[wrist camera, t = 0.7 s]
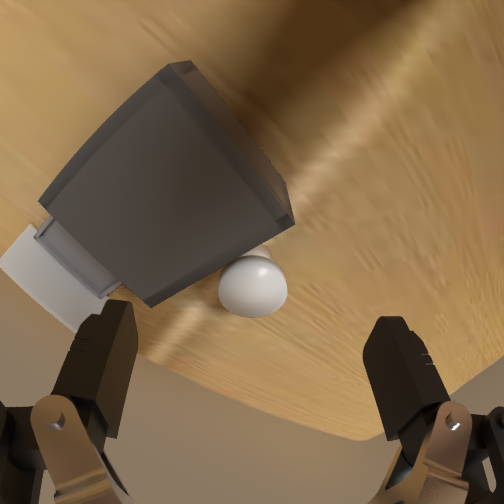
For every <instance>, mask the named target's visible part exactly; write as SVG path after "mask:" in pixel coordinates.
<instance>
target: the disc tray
mask: <svg viewBox="0 0 504 504" xmlns="http://www.w3.org/2000/svg"><path fill="white" fill-rule="evenodd" d="M0 268H2V269H3V271H4V272H5V273H6V274H7V275H8V276H9V277H10V278H11V279H12V280H14V281H15V282H16V283H17V284H18V285H19V286H20V287H21V288H22V289H23V290H24V291H25V292H26V293H27V294H28V295H30V296H31V297H32V298H33V299H34V300H35V301H36V302H37V303H39V304H40V305H41V306H42V307H43V308H44V309H46V310H47V311H48V312H49V313H50V314H51V315H53V316H54V317H55V318H56V319H57V320H59V321H60V322H61V323H62V324H64V325H65V326H66V327H67V328H69V329H70V330H71V331H72V332H74V333H75V334H76V333H77V331H78V329H79V326H80V324H81V323H82V322H83V321H84V320H85V319H86V318H87V317H89V316H90V315H91V314H99V315H100V314H101V311H102V309H103V307H104V305H105V302H106V301H107V300H108V299H110V298H109V297H108V296H106V295H107V294H109V293H110V292H112V291H113V290H114V289H116V288H117V287H119V286H120V285H121V284H122V283H121V282H120V281H119V280H118V279H117V278H116V277H115V276H113V275H112V274H111V273H110V272H109V271H108V270H107V269H106V268H105V267H104V266H103V265H101V264H100V263H99V262H98V261H97V260H96V259H95V258H94V257H93V256H92V255H91V254H90V253H89V252H88V251H87V250H86V249H84V248H83V247H82V246H81V245H80V244H79V243H78V242H77V241H76V240H75V239H74V238H73V237H72V236H71V235H70V234H69V233H68V232H67V231H66V230H65V229H64V228H63V227H62V226H61V225H60V224H59V223H58V222H57V221H56V220H55V219H54V218H53V217H52V215H51V214H50V216H49V217H48V218H47V219H46V221H45V222H44V223H43V225H42V226H41V227H40V228H39V230H38V231H37V230H36V229H35V228H34V227H33V226H32V225H31V224H30V225H29V226H28V227H27V228H26V229H25V230H24V232H23V233H22V234H21V235H20V236H19V237H18V238H17V240H16V241H15V242H14V243H13V244H12V245H11V247H10V248H9V249H8V250H7V251H6V252H5V254H4V255H3V256H2V257H1V259H0Z"/></svg>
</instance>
